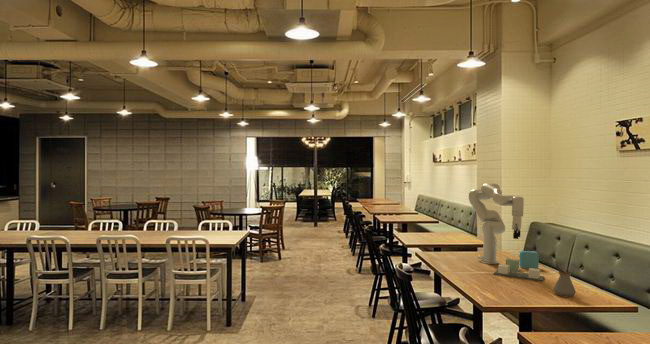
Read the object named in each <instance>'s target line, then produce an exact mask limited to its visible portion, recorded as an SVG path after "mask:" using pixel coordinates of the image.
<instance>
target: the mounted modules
mask: <svg viewBox="0 0 650 344" xmlns="http://www.w3.org/2000/svg"><path fill="white" fill-rule="evenodd" d="M497 269H498V273H502V274H508V273H509V272H510V265H506V263H505V264H504V263H500V264H498V267H497ZM527 274H528V277H529V278H536V279H539V277H540V276H541V268H540V269H539V268H537V269H535V268H528V273H527Z"/></svg>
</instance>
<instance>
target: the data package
mask: <svg viewBox="0 0 650 344" xmlns="http://www.w3.org/2000/svg"><path fill="white" fill-rule="evenodd" d="M539 256H540V254H539V252H537V251H533V250H532V251H531V250H521V251H519V267H521V268H522V269H530V268H535V269H539V261H540V257H539Z"/></svg>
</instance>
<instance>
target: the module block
mask: <svg viewBox="0 0 650 344" xmlns="http://www.w3.org/2000/svg"><path fill="white" fill-rule="evenodd" d="M505 265H510V271H512V272H519V271H520V259H513V258H506V259H505ZM519 273H520V272H519Z"/></svg>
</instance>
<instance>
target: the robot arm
mask: <svg viewBox="0 0 650 344" xmlns="http://www.w3.org/2000/svg"><path fill="white" fill-rule="evenodd" d="M490 199H492V200H493V202H494V203H495V204H498V205H499V206H503V207H509V206H510V207H511V216H512V221H511V222H512V224H511V230H512V231H513V232H512V233H513V234H512V236H513V237H512V238H513V239H514V240H518V239H519V238H521V229H522V219H523V218H522V217H524V203H525V199H524V197H523V196H516V195H503V192H502V190H501V186H500V185H499V184H497V183H491V182H490V183H487V182H486V183H483V184H482V185H481V187H480V188H476V189H471V190H470V191H469V193H468V201H469V203H470V205H471V207H472V208H473V209H474V211H475V214H476V215H477V217H478V219H479V220H480V222H482V223H483V224H482V227H481V228H482V233H483V242H482V244H483V247H482V249H483V250H482V255H477V259H479V260H480V262H481V263H483V264H488V265H497V264H498V263H499V261H498V260H497V245H498V244H497V238H496V235H499V234H503V233H504V232H505V231H506V225H505V223H504V221H503V218H502V217H501V215H500V213H499V212H498V211H497V210H495V209H488V208H487V207H486V205H485V203H483V202H482V201H484V200H490ZM498 265H499V264H498Z"/></svg>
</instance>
